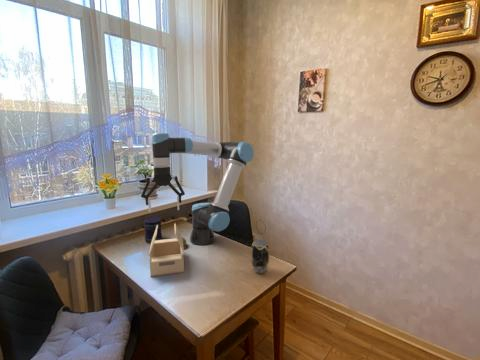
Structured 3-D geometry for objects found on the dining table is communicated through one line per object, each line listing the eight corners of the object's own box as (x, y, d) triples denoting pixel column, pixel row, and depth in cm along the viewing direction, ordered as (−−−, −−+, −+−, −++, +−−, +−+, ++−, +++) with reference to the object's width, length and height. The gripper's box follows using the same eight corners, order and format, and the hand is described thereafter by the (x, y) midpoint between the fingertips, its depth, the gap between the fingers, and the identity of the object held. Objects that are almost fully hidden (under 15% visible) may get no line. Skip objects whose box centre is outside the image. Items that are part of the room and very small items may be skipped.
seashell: (183, 256, 143) (192, 245, 147) (181, 251, 137) (190, 239, 141) (170, 248, 146) (179, 237, 150) (167, 243, 140) (177, 232, 145)
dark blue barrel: (165, 242, 153) (164, 218, 151) (152, 247, 145) (151, 223, 142) (155, 238, 158) (153, 216, 156) (141, 244, 150) (140, 220, 148)
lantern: (248, 268, 122) (248, 219, 118) (260, 263, 126) (261, 215, 123) (260, 275, 115) (260, 223, 111) (272, 270, 120) (273, 220, 116)
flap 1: (157, 225, 128) (157, 224, 127) (156, 236, 113) (155, 235, 113) (152, 243, 128) (151, 242, 128) (149, 256, 114) (148, 256, 113)
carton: (181, 252, 138) (181, 237, 137) (184, 276, 115) (183, 257, 113) (153, 256, 134) (152, 240, 133) (150, 280, 111) (148, 262, 109)
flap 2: (174, 234, 115) (175, 233, 115) (174, 223, 130) (175, 223, 130) (183, 252, 117) (184, 251, 118) (181, 239, 132) (182, 239, 132)
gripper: (188, 164, 123) (189, 206, 127) (135, 166, 117) (138, 210, 120) (189, 166, 116) (190, 210, 120) (132, 168, 110) (135, 214, 113)
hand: (164, 210), depth 120 cm, fingers open, 12 cm apart
